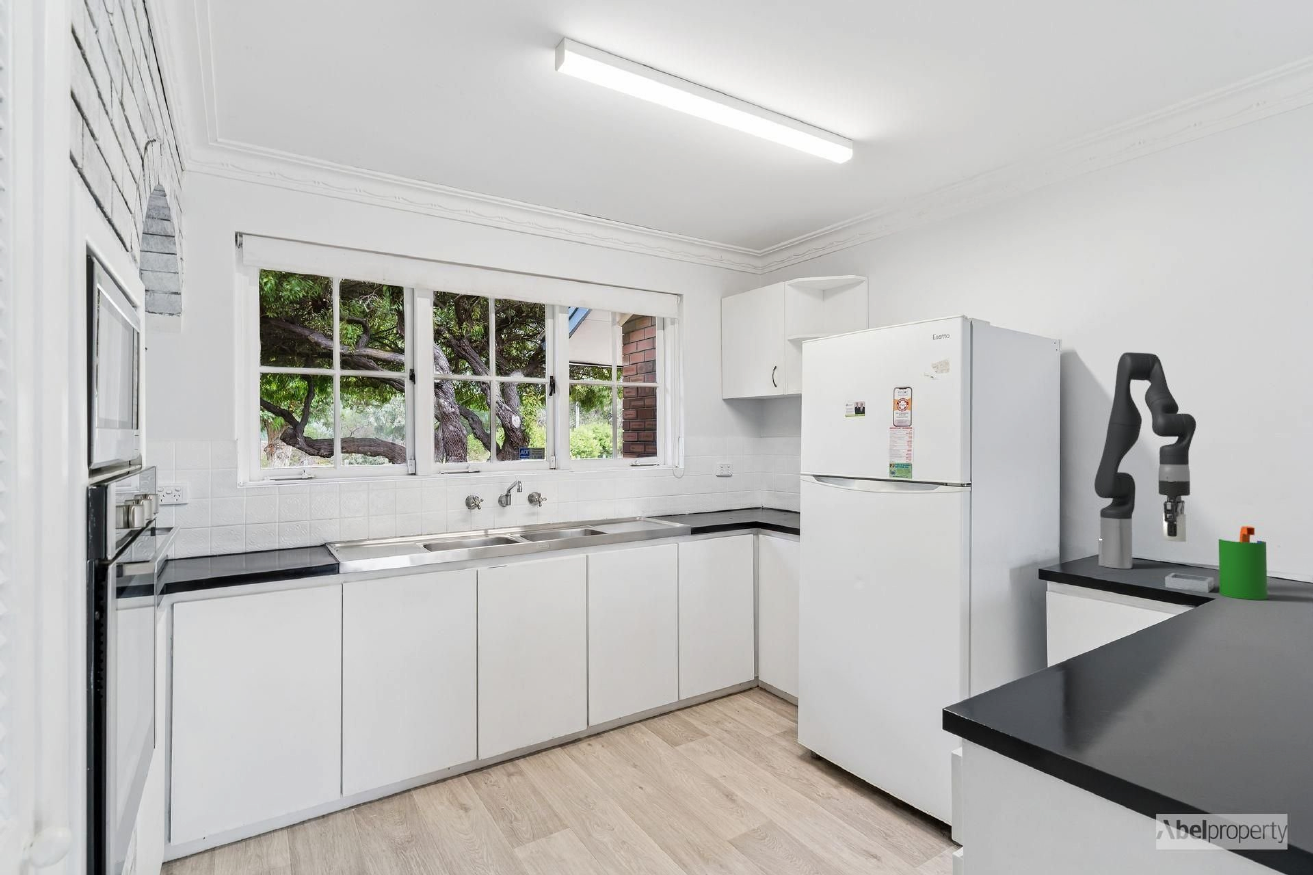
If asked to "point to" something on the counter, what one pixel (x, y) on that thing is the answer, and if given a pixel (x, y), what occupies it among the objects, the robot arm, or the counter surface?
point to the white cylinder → (1180, 529)
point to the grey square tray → (1189, 582)
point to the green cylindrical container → (1243, 567)
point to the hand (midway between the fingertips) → (1174, 535)
